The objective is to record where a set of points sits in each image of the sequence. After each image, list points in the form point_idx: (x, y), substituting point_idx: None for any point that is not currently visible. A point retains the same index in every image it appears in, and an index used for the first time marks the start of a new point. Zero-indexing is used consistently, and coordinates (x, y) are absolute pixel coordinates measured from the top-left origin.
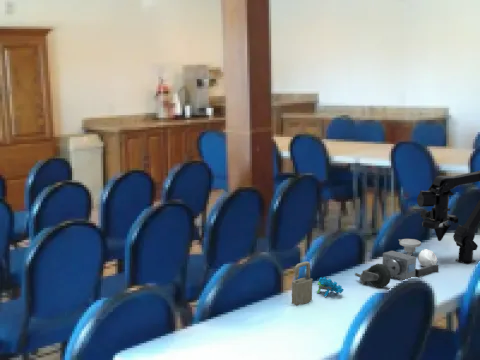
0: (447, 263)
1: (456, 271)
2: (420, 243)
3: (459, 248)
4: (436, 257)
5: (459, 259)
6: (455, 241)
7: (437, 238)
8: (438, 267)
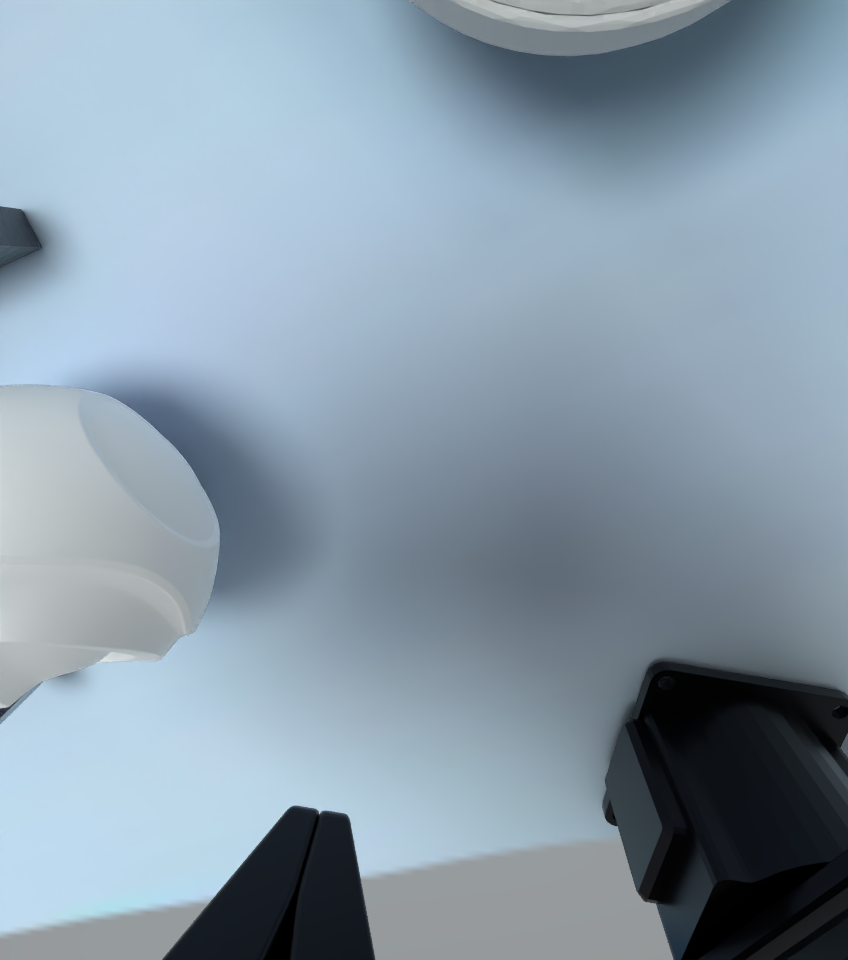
0: (481, 622)
1: (247, 798)
2: (635, 27)
3: (713, 882)
4: (150, 658)
5: (625, 749)
6: (831, 932)
7: (248, 857)
8: (5, 717)
